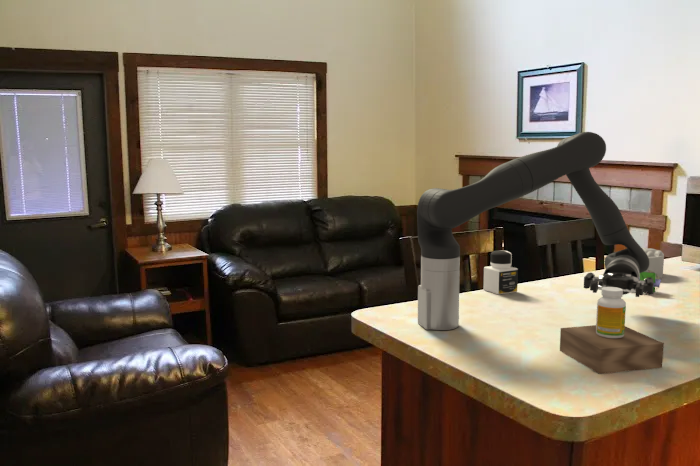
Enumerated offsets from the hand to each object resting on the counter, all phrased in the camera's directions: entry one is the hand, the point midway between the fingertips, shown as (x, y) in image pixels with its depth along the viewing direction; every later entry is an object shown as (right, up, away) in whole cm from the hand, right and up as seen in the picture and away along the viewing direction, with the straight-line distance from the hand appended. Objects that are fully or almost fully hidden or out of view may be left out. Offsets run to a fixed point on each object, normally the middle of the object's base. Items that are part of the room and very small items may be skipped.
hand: (615, 290), depth 136 cm
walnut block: (-4, -14, -6) cm, 15 cm away
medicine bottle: (-13, -5, +52) cm, 54 cm away
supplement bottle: (-4, -9, -6) cm, 12 cm away
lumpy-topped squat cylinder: (+39, -2, +71) cm, 82 cm away
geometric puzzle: (+29, -5, +49) cm, 57 cm away
